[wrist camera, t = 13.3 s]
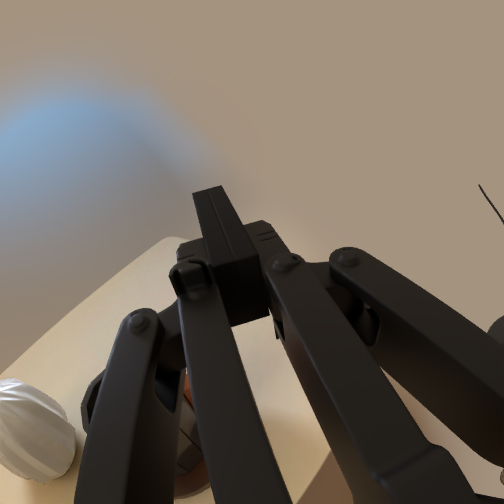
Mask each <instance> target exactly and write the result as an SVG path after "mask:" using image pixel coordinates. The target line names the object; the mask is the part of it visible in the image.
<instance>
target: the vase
mask: <svg viewBox="0 0 504 504" xmlns="http://www.w3.org/2000/svg"><path fill="white" fill-rule="evenodd" d="M75 446H76V439H75V428H74V427H73V426H72V425H71V424H70V423H69V422H68V419H67V416H66V412H65V411H64V409H63V408H62V407H61V406H60V405H59V404H58V403H57V402H56V401H55V400H53V399H52V398H51V397H49V396H48V395H46V394H45V393H43V392H41V391H40V390H38V389H36V388H34V387H33V386H30V385H27V384H25V383H23V382H21V381H20V380H17V379H15V378H9V379H4V380H1V381H0V464H2V465H3V466H4V467H5V468H6V469H8V470H9V471H10V472H12V473H13V474H15V475H17V476H19V477H21V478H24V479H32V480H34V481H36V482H38V483H42V484H46V483H48V482H51V481H53V480H54V479H56V478H58V477H60V476H62V475H64V474H65V472H66V471H67V470H68V469H69V467H70V466H71V464H72V462H73V458H74V455H75V450H76V448H75Z"/></svg>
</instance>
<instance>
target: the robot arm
mask: <svg viewBox="0 0 504 504" xmlns="http://www.w3.org/2000/svg"><path fill="white" fill-rule="evenodd" d="M479 187H480V189H481V191H482V193H483V194H484V196H485V197H486V199H487V200H488V202H489V203H490V204H491V206H492V207H493V209H494V210H495V211H496V213H497V214H498V216H499V217H500V219H501V221H502V222H503V224H504V220H503V218H502V217H501V215H500V214H499V212H498V211H497V209H496V208H495V207H494V205H493V204H492V203H491V201H490V200H489V198H488V197H487V196H486V194H485V193H484V191H483V189H482V188H481V186H480V185H479ZM192 195H193V199H194V203H195V207H196V211H197V215H198V219H199V223H200V227H201V231H202V235H203V238H199V239H196V240H193V241H189V242H186V243H182V244H180V246H179V248H178V250H177V251H176V254H177V264H176V265H174V266H173V268H172V269H171V270H170V273H169V278H170V281H171V283H172V286H173V288H174V290H175V293H176V295H177V300H176V301H175V302H174V303H173V304H172V305H171V306H169V307H168V308H166V309H165V310H163V311H161V312H159V313H156V311H154V310H152V309H150V308H142V309H138V310H135V311H133V312H131V313H130V314H128V315H127V316H126V317H125V318H124V319H123V321H122V323H121V325H120V327H119V330H118V333H117V336H116V339H115V342H114V344H113V347H112V350H111V353H110V356H109V359H108V363H107V366H106V369H105V372H104V375H103V379H102V382H101V385H100V389H99V392H98V395H97V399H96V403H95V406H94V410H93V414H92V417H91V421H90V425H89V429H88V433H87V437H86V442H85V446H84V450H83V455H82V460H81V464H80V469H79V475H78V480H77V485H76V491H75V497H74V504H174V490H175V476H176V463H177V452H178V441H179V430H180V421H181V411H182V402H183V394H184V385H185V377H186V367H187V373H188V379H189V385H190V391H191V396H192V402H193V407H194V413H195V418H196V423H197V428H198V433H199V437H200V442H201V447H202V451H203V455H204V460H205V464H206V468H207V472H208V476H209V480H210V484H211V488H212V492H213V496H214V500H215V503H216V504H293V502H292V500H291V497H290V495H289V492H288V490H287V487H286V485H285V482H284V479H283V477H282V474H281V472H280V469H279V466H278V464H277V461H276V458H275V456H274V453H273V450H272V447H271V445H270V442H269V439H268V436H267V434H266V431H265V428H264V425H263V422H262V419H261V417H260V414H259V411H258V408H257V405H256V402H255V399H254V396H253V393H252V390H251V387H250V384H249V381H248V378H247V375H246V372H245V369H244V366H243V363H242V360H241V357H240V354H239V351H238V348H237V345H236V341H235V338H234V335H233V332H232V329H231V327H234V326H237V325H241V324H244V323H247V322H250V321H254V320H257V319H260V318H263V317H266V316H269V315H270V314H269V309H270V312H271V314H272V316H273V322H274V328H275V334H276V339H279V338H280V340H281V342H282V344H283V346H284V349H285V351H286V353H287V355H288V357H289V359H290V362H291V364H292V366H293V368H294V370H295V373H296V375H297V377H298V379H299V381H300V383H301V386H302V388H303V390H304V392H305V394H306V396H307V399H308V401H309V403H310V405H311V407H312V409H313V411H314V414H315V416H316V418H317V420H318V422H319V424H320V426H321V429H322V431H323V433H324V435H325V437H326V439H327V441H328V444H329V446H330V448H331V450H332V452H333V454H334V456H335V458H336V460H337V463H338V465H339V467H340V468H341V471H342V473H343V475H344V477H345V479H346V482H347V484H348V486H349V488H350V490H351V493H352V495H353V501H354V504H504V499H502V498H496V497H491V496H486V495H481V494H476V493H474V491H473V489H472V488H471V486H470V484H469V483H468V481H467V479H466V477H465V476H464V474H463V472H462V471H461V469H460V467H459V466H458V464H457V462H456V461H455V459H454V458H453V457H452V455H451V454H450V453H449V451H447V450H446V449H445V448H443V447H442V446H439V445H435V444H432V443H430V442H429V441H428V440H427V439H426V437H425V436H424V435H423V433H422V431H421V430H420V428H419V426H418V425H417V423H416V422H415V420H414V419H413V417H412V416H411V414H410V412H409V411H408V409H407V408H406V406H405V405H404V403H403V401H402V400H401V398H400V397H399V395H398V394H397V392H396V391H395V389H394V388H393V386H392V385H391V383H390V382H389V380H388V379H387V377H386V376H385V374H384V373H383V371H382V370H381V368H382V369H383V370H385V371H386V372H387V373H388V374H389V375H390V376H391V377H392V378H393V379H395V380H396V381H397V382H398V383H399V384H400V385H401V386H402V387H403V388H405V389H406V390H407V391H408V392H409V393H410V394H411V395H412V396H413V397H415V398H416V399H417V400H418V401H419V402H420V403H421V404H422V405H423V406H425V407H426V408H427V409H428V410H429V411H430V412H431V413H432V414H433V415H434V416H436V417H437V418H438V419H439V420H440V421H441V422H442V423H443V424H445V425H446V426H447V427H448V428H449V429H450V430H451V431H452V432H453V433H455V434H456V435H457V436H458V437H459V438H460V439H461V440H462V441H463V442H464V443H466V444H467V445H468V446H469V447H470V448H471V449H472V450H473V451H475V452H476V453H477V454H478V455H480V456H481V457H483V458H484V459H486V460H487V461H489V462H491V463H493V464H495V465H497V466H500V467H503V468H504V344H503V345H502V344H500V343H499V342H498V341H497V340H495V339H494V338H493V337H491V336H490V335H488V334H487V333H486V332H484V331H483V330H482V329H480V328H479V327H477V326H476V325H475V324H473V323H472V322H471V321H469V320H468V319H466V318H465V317H464V316H462V315H461V314H459V313H458V312H457V311H455V310H453V309H452V308H451V307H449V306H448V305H447V304H445V303H444V302H442V301H440V300H439V299H438V298H436V297H435V296H433V295H432V294H430V293H429V292H427V291H426V290H424V289H423V288H421V287H420V286H418V285H417V284H415V283H414V282H412V281H411V280H409V279H408V278H406V277H405V276H403V275H401V274H400V273H398V272H397V271H395V270H394V269H392V268H391V267H389V266H387V265H386V264H384V263H383V262H381V261H379V260H378V259H376V258H375V257H373V256H371V255H370V254H368V253H366V252H365V251H363V250H361V249H358V248H354V247H343V248H340V249H337V250H335V251H334V252H332V253H331V255H330V257H329V262H319V263H308V262H305V260H304V259H303V258H302V257H301V256H299V255H297V254H294V253H291V252H290V251H289V249H288V248H287V246H286V245H285V244H284V242H283V241H282V239H281V238H280V237H279V235H278V234H277V233H276V232H275V230H274V228H273V227H272V226H271V224H269V223H267V222H265V221H263V220H260V221H257V222H253V223H249V224H246V225H243V224H242V222H241V220H240V219H239V217H238V215H237V213H236V211H235V209H234V207H233V206H232V204H231V202H230V200H229V198H228V196H227V195H226V193H225V191H224V189H223V187H222V186H221V185H220V186H217V187H213V188H209V189H206V190H202V191H199V192H195V193H192ZM268 307H269V308H268ZM379 366H380V367H381V368H380V367H379ZM500 480H501V482H502V484H503V485H504V469H503V471H502V472H501V476H500Z"/></svg>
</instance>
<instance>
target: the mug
mask: <svg viewBox="0 0 504 504" xmlns="http://www.w3.org/2000/svg"><path fill="white" fill-rule="evenodd" d="M104 372H105V369H104V370H103V371H102V372H101V373H100V374H99V375H98V376H97V377H96V378H95V379H94V380H93V381H92V382H91V383H90V384H89V386H88V388H87V391H86V393H85V396H84V398H83V401H82V403H81V416H82V424H83V429H84V431H85V432H86V433H88V429H89V425H90V421H91V417H92V414H93V410H94V406H95V403H96V399H97V395H98V392H99V389H100V385H101V382H102V379H103V375H104ZM203 457H204V455H203V451H202V447H201V442H200V437H199V433H198V428H197V423H196V418H195V413H194V407H193V402H192V396H191V391H190V385H189V379H188V374H186V377H185V385H184V394H183V402H182V411H181V421H180V430H179V441H178V452H177V463H176V476H175V477H177V476H180V475H183V474H186V473H189V471H191V470H192V469H193V468H194V467H195V466H196V465H197V464H198V462H199V461H200V460H201V459H202V458H203Z"/></svg>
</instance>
